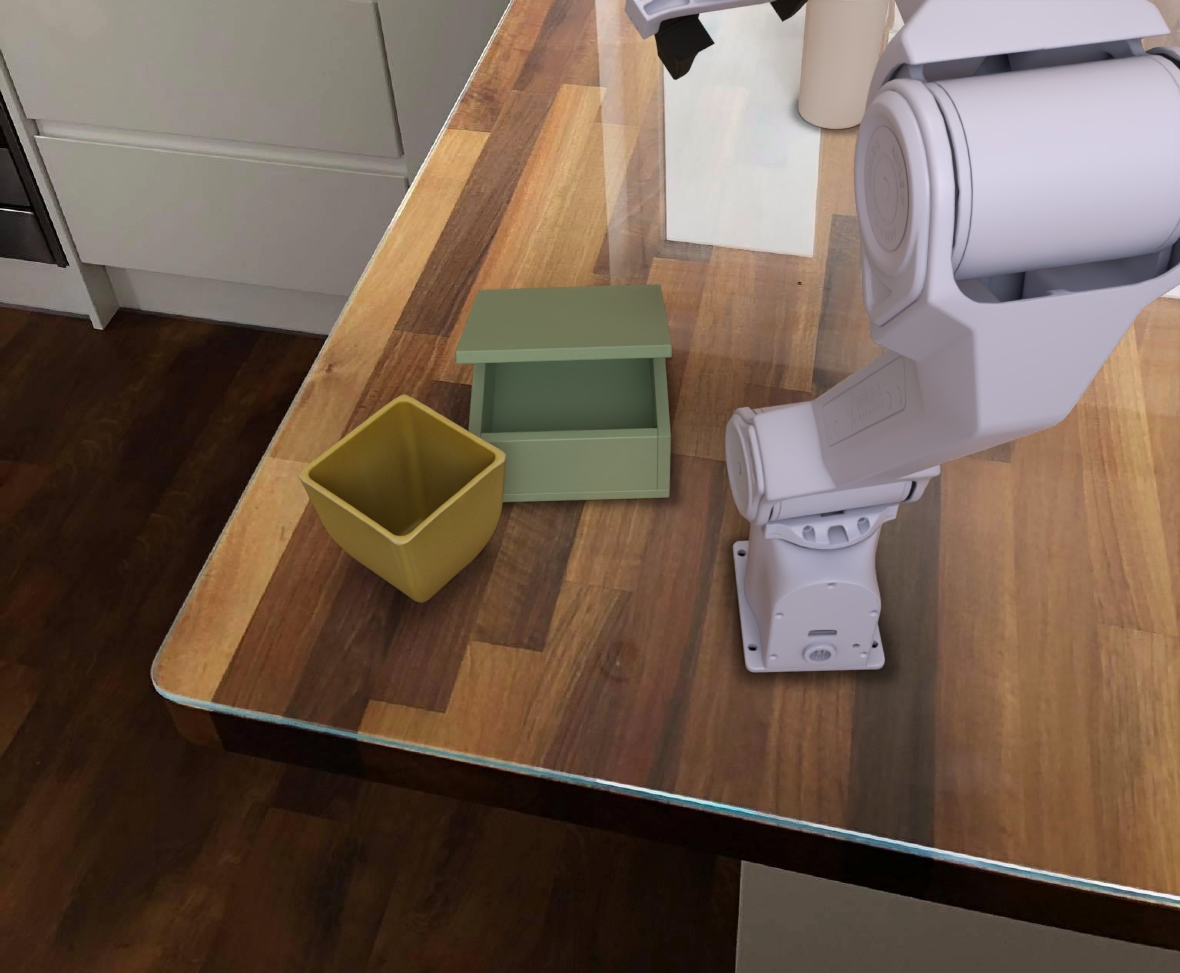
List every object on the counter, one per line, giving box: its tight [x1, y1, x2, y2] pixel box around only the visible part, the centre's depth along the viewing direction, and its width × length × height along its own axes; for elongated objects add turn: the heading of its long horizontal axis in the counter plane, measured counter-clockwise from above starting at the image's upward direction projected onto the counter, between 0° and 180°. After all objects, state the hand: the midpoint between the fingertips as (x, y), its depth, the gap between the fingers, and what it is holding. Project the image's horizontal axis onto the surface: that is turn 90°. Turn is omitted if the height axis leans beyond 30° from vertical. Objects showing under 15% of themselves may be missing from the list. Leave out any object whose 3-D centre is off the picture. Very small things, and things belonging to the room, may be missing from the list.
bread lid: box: [454, 283, 673, 365], centre depth 78 cm, size 14×13×1 cm
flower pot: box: [298, 393, 506, 604], centre depth 74 cm, size 9×9×9 cm
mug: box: [798, 0, 890, 130], centre depth 106 cm, size 10×7×12 cm, turn 153°
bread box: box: [467, 358, 672, 503], centre depth 82 cm, size 14×13×6 cm
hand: (724, 35), depth 73 cm, fingers open, 7 cm apart
